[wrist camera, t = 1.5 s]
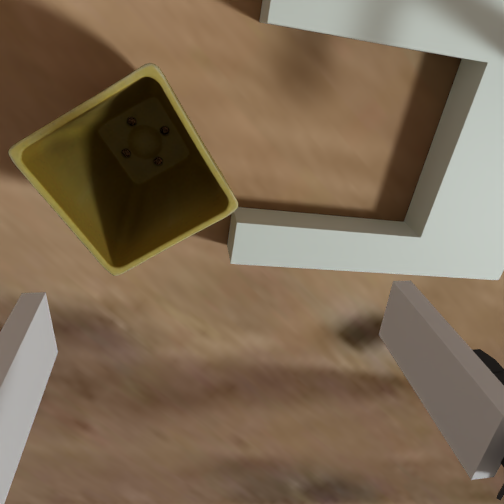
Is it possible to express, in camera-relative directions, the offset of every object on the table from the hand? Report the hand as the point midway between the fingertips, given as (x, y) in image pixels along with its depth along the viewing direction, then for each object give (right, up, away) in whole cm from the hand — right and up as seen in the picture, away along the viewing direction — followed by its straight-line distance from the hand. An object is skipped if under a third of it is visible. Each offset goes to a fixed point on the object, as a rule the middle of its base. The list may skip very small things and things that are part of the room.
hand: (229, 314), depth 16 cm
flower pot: (-7, +11, +14) cm, 19 cm away
